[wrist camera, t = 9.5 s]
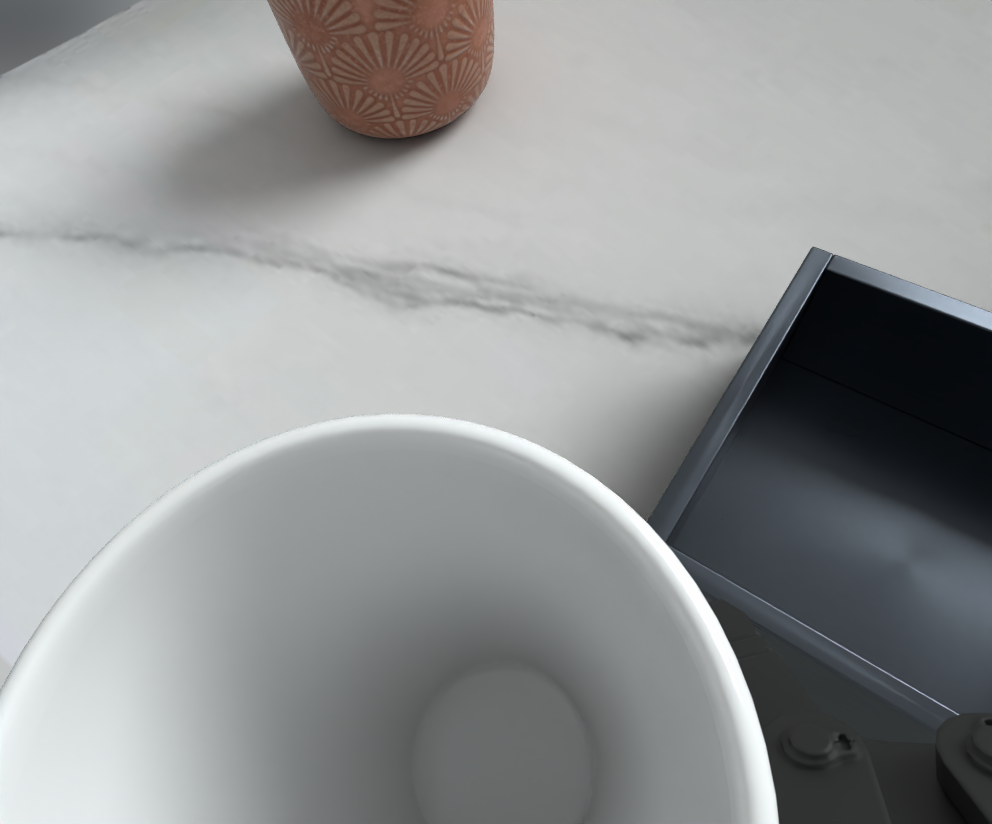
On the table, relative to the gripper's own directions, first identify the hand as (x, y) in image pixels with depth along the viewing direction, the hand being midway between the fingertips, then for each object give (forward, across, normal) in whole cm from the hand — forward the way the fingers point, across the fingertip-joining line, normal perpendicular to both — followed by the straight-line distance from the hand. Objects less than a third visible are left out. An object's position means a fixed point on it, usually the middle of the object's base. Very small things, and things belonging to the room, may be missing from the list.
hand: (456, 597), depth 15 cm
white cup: (+2, 0, -6) cm, 7 cm away
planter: (+32, +2, +16) cm, 36 cm away
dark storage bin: (+7, +16, -8) cm, 19 cm away
